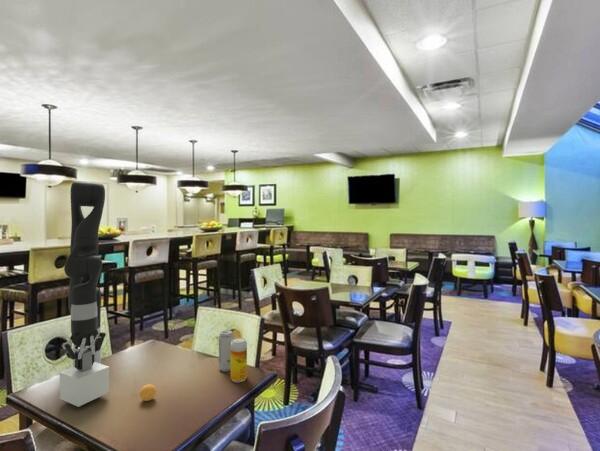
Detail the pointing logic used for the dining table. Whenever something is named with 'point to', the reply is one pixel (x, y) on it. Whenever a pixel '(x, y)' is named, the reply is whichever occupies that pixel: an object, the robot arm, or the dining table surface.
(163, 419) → the dining table surface
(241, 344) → the yellow white cylinder
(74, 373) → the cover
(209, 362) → the dining table surface
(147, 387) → the ball
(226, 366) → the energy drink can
